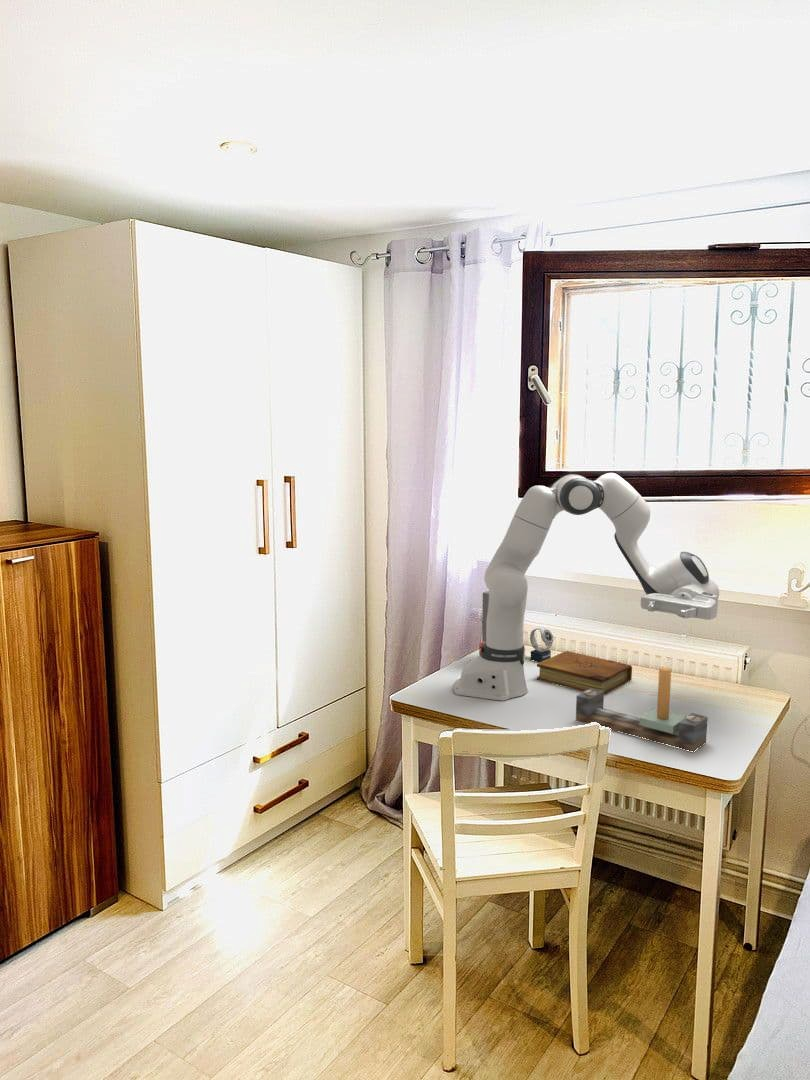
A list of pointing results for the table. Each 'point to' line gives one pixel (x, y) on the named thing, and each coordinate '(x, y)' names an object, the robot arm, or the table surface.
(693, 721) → the rail
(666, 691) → the slider with orange handle
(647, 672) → the table surface
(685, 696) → the table surface
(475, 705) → the table surface
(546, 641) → the watch
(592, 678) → the diary
